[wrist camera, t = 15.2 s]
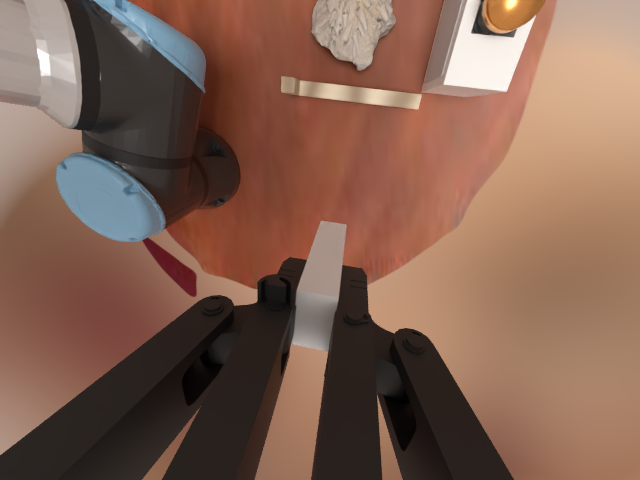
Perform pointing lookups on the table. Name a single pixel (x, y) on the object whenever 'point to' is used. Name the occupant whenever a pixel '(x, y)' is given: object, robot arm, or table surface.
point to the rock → (352, 27)
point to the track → (350, 93)
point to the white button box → (471, 54)
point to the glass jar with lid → (504, 15)
